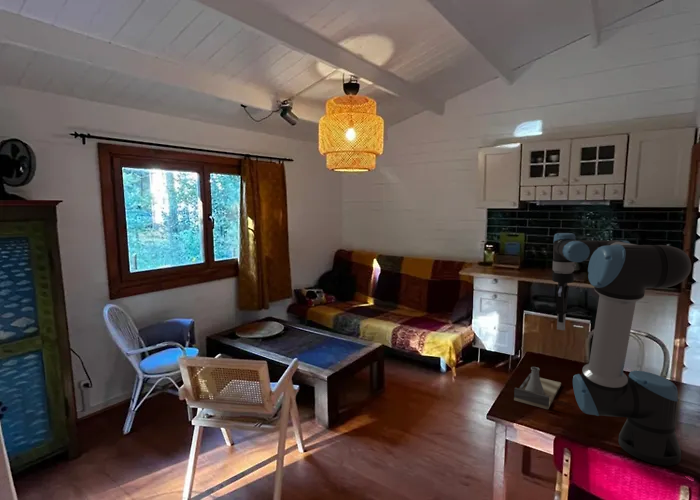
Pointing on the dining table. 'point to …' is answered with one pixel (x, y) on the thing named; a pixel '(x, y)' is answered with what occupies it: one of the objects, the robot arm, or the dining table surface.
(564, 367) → the dining table surface
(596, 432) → the dining table surface
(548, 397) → the stand board
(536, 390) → the flask
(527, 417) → the dining table surface
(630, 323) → the robot arm
